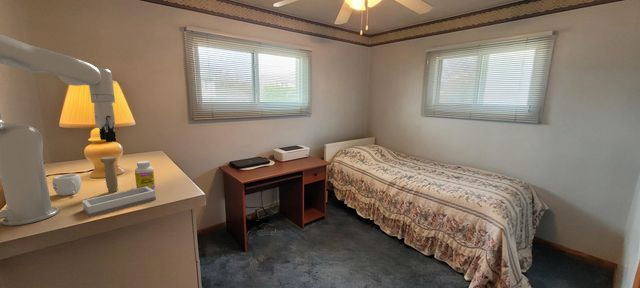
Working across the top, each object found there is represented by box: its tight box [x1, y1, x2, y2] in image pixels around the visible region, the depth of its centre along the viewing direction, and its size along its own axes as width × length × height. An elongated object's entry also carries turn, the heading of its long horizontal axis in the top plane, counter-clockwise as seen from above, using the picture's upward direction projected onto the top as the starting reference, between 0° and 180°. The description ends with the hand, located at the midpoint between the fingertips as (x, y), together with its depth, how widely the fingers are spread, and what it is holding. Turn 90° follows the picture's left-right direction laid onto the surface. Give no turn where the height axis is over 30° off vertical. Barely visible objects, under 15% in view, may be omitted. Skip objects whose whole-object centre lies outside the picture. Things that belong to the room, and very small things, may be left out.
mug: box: [51, 173, 82, 197], centre depth 107 cm, size 12×8×8 cm
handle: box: [100, 156, 119, 194], centre depth 109 cm, size 5×6×15 cm
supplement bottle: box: [134, 160, 156, 191], centre depth 110 cm, size 7×7×13 cm
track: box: [81, 186, 157, 217], centre depth 96 cm, size 20×10×4 cm, turn 141°
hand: (108, 140), depth 107 cm, fingers open, 9 cm apart
